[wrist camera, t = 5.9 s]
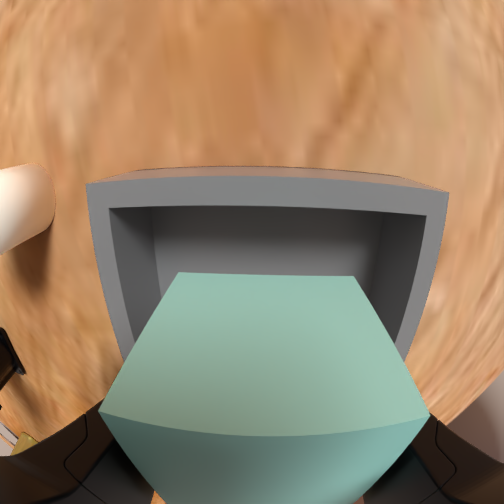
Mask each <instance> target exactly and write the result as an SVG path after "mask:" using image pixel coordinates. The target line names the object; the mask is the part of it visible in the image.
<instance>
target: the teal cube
mask: <svg viewBox="0 0 504 504" xmlns="http://www.w3.org/2000/svg"><path fill="white" fill-rule="evenodd" d="M98 412H99V413H100V415H101V417H102V418H103V420H104V422H105V423H106V425H107V426H108V428H109V430H110V431H111V433H112V434H113V436H114V437H115V439H116V440H117V442H118V443H119V445H120V446H121V448H122V449H123V450H124V452H125V453H126V455H127V456H128V457H129V459H130V460H131V461H132V463H133V464H134V465H135V467H136V468H137V469H138V471H139V472H140V473H141V474H142V476H143V477H144V478H145V479H146V481H147V482H148V483H149V484H150V485H151V486H152V488H153V489H154V490H155V491H156V492H157V493H158V495H159V496H160V497H161V498H162V499H163V500H164V501H165V502H166V503H167V504H353V503H354V502H355V501H356V500H358V499H359V498H360V497H361V496H362V495H363V494H364V493H365V492H366V491H367V490H368V489H369V488H370V487H371V486H372V485H373V484H374V483H375V482H376V481H377V480H378V479H379V478H380V477H381V476H382V475H383V474H384V473H385V472H386V471H387V470H388V469H389V467H390V466H391V465H392V464H393V463H394V462H395V461H396V460H397V458H398V457H399V456H400V455H401V454H402V452H403V451H404V450H405V449H406V448H407V446H408V445H409V444H410V443H411V441H412V440H413V439H414V438H415V436H416V435H417V434H418V432H419V431H420V430H421V428H422V427H423V425H424V424H425V423H426V421H427V420H428V418H429V417H430V414H429V411H428V409H427V407H426V405H425V403H424V401H423V399H422V397H421V395H420V393H419V391H418V389H417V387H416V385H415V383H414V381H413V379H412V377H411V375H410V373H409V371H408V369H407V367H406V365H405V364H404V362H403V360H402V358H401V356H400V354H399V352H398V351H397V349H396V347H395V345H394V343H393V341H392V340H391V338H390V336H389V334H388V333H387V331H386V329H385V327H384V326H383V324H382V322H381V320H380V319H379V317H378V315H377V314H376V312H375V310H374V308H373V307H372V305H371V303H370V302H369V300H368V299H367V297H366V295H365V294H364V292H363V290H362V289H361V287H360V285H359V284H358V282H357V281H356V279H355V277H354V276H295V275H247V274H214V273H186V272H178V274H177V275H176V277H175V279H174V280H173V282H172V283H171V285H170V286H169V288H168V290H167V291H166V293H165V295H164V296H163V298H162V299H161V301H160V303H159V304H158V306H157V308H156V309H155V311H154V313H153V314H152V316H151V318H150V319H149V321H148V323H147V324H146V326H145V328H144V329H143V331H142V333H141V334H140V336H139V338H138V340H137V341H136V343H135V345H134V346H133V348H132V350H131V352H130V353H129V355H128V357H127V359H126V360H125V362H124V364H123V366H122V368H121V369H120V371H119V373H118V375H117V377H116V378H115V380H114V382H113V384H112V386H111V388H110V390H109V391H108V393H107V395H106V397H105V399H104V401H103V403H102V405H101V406H100V408H99V410H98Z"/></svg>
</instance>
